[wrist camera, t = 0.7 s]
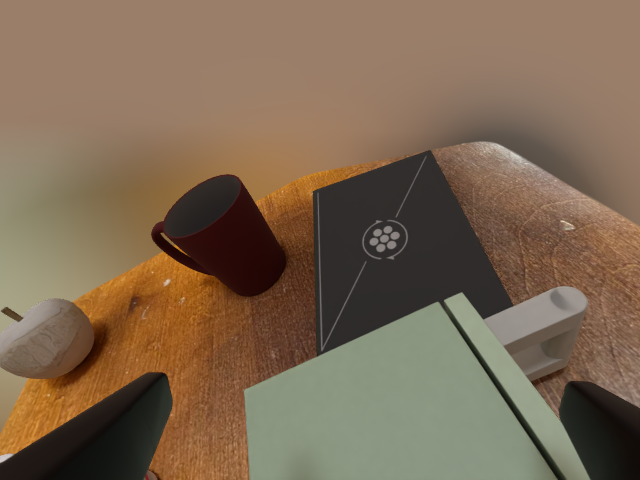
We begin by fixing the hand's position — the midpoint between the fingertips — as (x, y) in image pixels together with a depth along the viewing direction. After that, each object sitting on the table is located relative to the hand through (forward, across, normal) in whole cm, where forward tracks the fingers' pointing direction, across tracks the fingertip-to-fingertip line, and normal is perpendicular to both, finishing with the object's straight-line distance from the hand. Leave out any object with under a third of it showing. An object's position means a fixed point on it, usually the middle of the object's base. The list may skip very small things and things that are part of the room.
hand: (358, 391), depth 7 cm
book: (+25, -5, +6) cm, 26 cm away
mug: (+30, +12, +11) cm, 33 cm away
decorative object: (+27, +33, +21) cm, 47 cm away
